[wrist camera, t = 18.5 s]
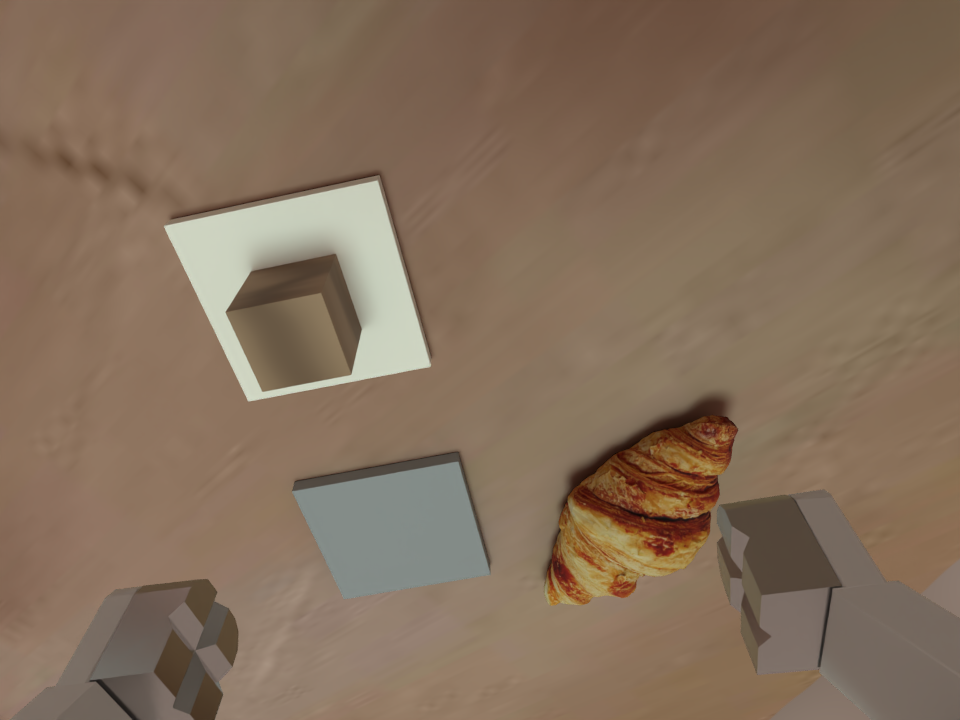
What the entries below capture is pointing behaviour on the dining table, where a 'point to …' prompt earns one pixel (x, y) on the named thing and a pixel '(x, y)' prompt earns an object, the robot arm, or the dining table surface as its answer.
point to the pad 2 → (395, 525)
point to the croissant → (640, 512)
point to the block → (296, 323)
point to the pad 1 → (301, 236)
